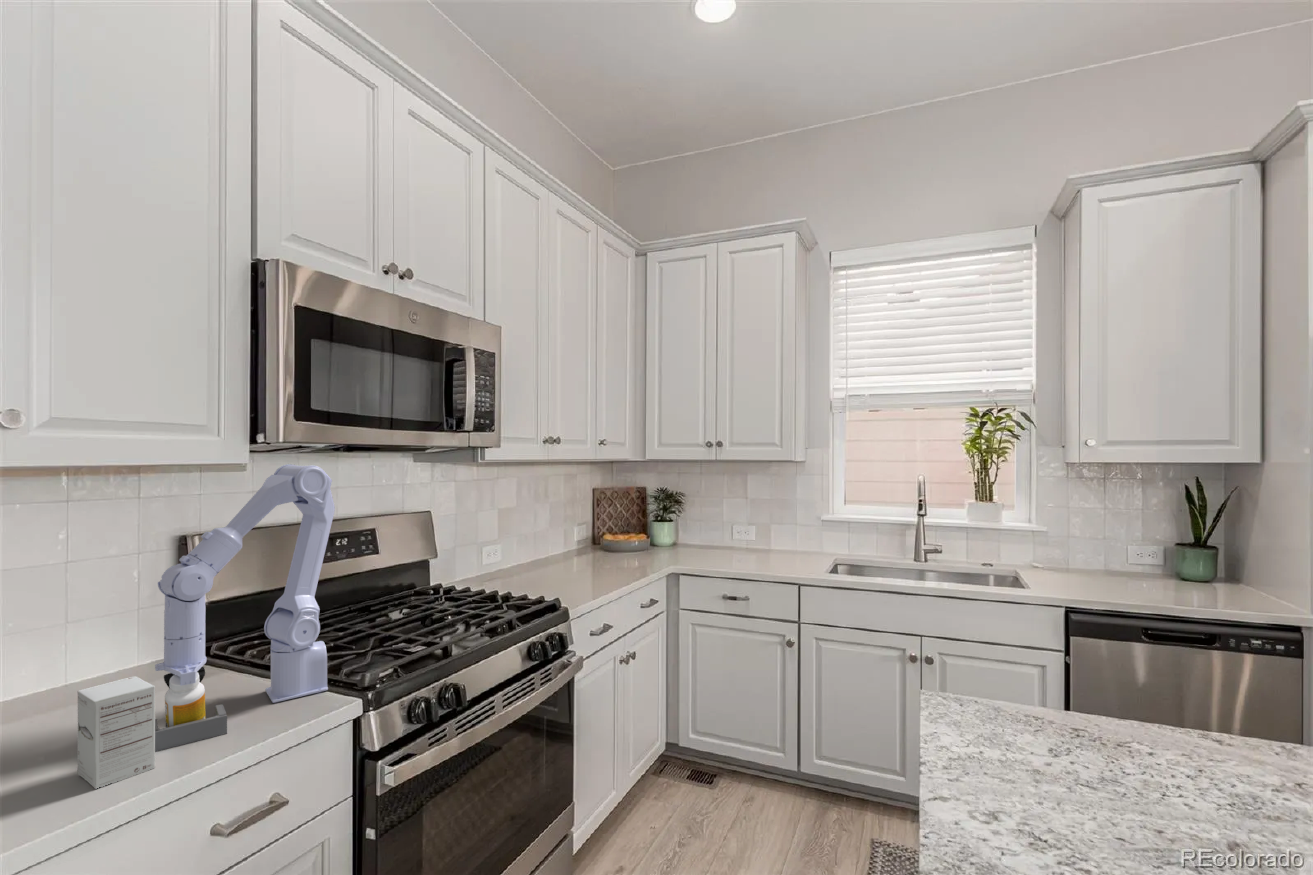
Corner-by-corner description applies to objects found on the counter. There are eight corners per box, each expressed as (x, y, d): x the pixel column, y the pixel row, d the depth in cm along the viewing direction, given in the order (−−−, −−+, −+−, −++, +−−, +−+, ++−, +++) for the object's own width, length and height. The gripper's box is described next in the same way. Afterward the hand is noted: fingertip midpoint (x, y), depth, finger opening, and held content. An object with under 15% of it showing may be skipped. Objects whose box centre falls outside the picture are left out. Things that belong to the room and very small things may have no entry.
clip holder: (222, 721, 112) (222, 704, 112) (227, 733, 107) (227, 715, 107) (149, 738, 105) (149, 720, 105) (151, 752, 101) (150, 733, 101)
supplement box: (75, 776, 94) (75, 689, 94) (138, 755, 100) (137, 674, 100) (93, 791, 90) (92, 701, 90) (156, 768, 96) (156, 684, 96)
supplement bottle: (213, 721, 110) (212, 672, 108) (184, 742, 105) (183, 691, 103) (187, 713, 111) (185, 664, 109) (157, 733, 106) (155, 682, 104)
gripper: (153, 629, 113) (152, 706, 113) (157, 650, 102) (156, 736, 102) (202, 622, 117) (201, 696, 117) (211, 641, 106) (210, 724, 106)
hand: (184, 714), depth 110 cm, fingers closed, pressing on supplement bottle
